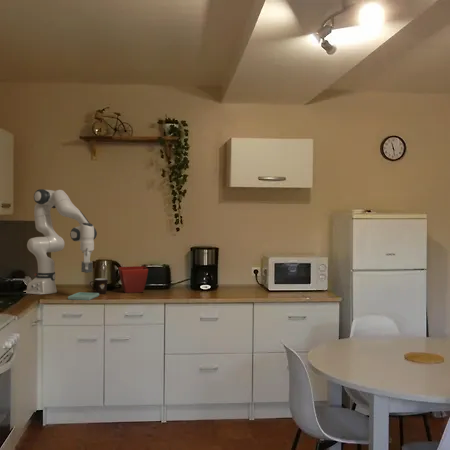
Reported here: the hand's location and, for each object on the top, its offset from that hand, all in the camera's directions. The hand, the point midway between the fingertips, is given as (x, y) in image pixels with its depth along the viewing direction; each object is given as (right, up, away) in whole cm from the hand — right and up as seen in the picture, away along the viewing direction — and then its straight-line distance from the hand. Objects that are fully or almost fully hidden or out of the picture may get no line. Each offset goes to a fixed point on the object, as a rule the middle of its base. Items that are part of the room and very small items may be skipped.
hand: (86, 268), depth 373 cm
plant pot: (+26, -19, +28) cm, 43 cm away
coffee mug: (+4, -19, +19) cm, 27 cm away
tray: (-2, -20, +1) cm, 20 cm away
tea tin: (0, -2, 0) cm, 2 cm away
